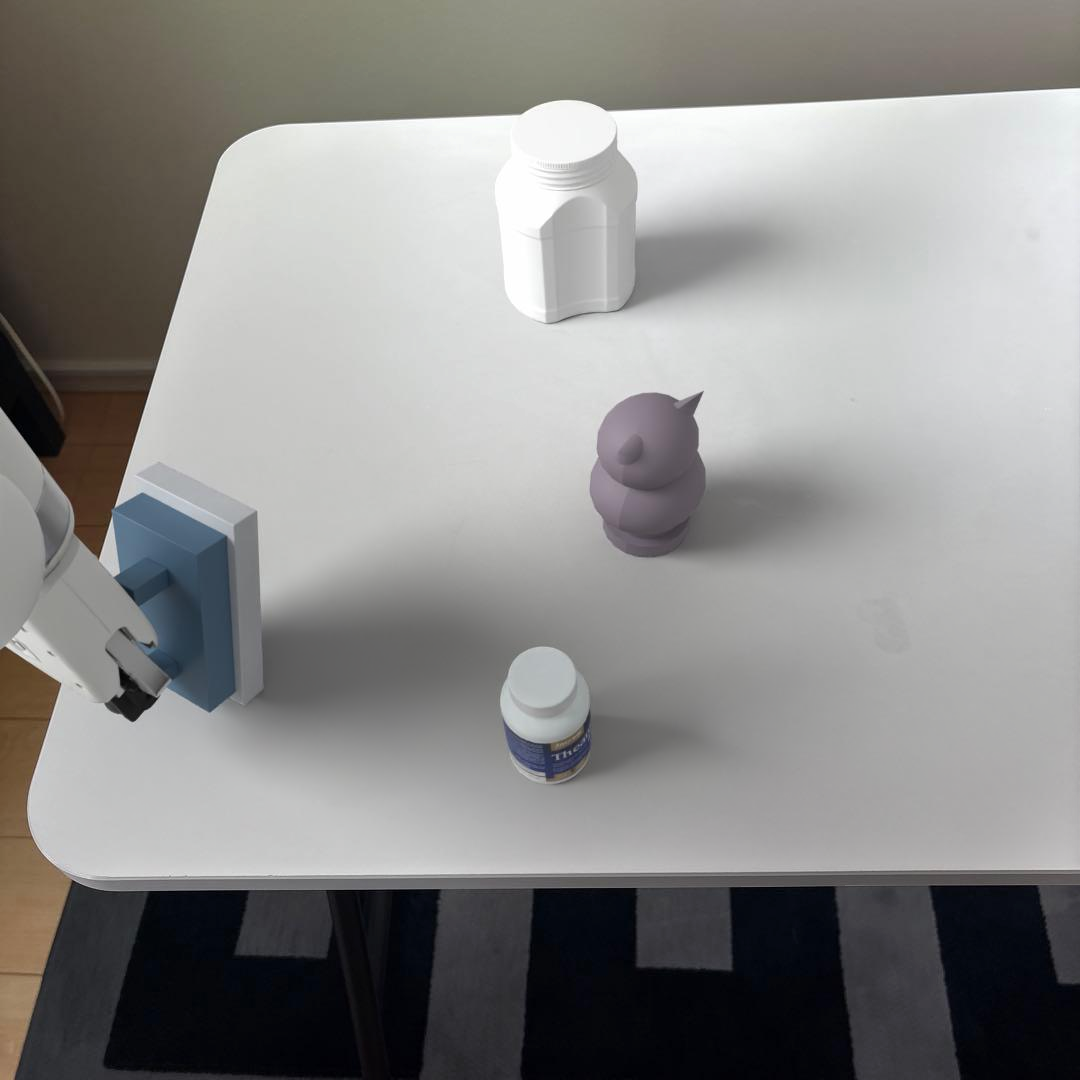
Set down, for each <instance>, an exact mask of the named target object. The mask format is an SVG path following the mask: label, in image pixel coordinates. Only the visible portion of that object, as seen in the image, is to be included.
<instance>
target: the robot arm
mask: <svg viewBox="0 0 1080 1080" xmlns="http://www.w3.org/2000/svg"><path fill="white" fill-rule="evenodd" d="M50 473H51V472H49V471H48V469H47V468H46V467H45V465H44V464H43V462H42V461H41V459H40V458H39V457H38V456H37V455H36V453H35V452H34V450H33V449H32V448H31V446H30V445H29V444H28V442H27V441H26V440H25V439H24V437H23V436H22V434H21V433H20V432H19V430H18V429H17V428H16V426H15V425H14V424H13V422H12V421H11V420H10V418H9V417H8V416H7V414H6V413H5V411H4V410H3V409H2V407H0V651H1V650H3V648H5V647H6V648H7V649H8V650H10V651H11V652H13V653H15V654H16V655H18V656H19V657H21V658H22V659H24V660H25V661H26V662H28V663H29V664H31V665H32V666H34V667H35V668H37V669H39V670H40V671H41V672H43V673H45V674H46V675H48V676H49V677H51V678H52V679H53V680H56V681H57V682H59V683H60V684H62V685H63V686H64V687H66V688H68V689H69V690H70V691H72V692H74V693H76V694H77V695H78V696H81V697H82V698H84V699H85V700H87V701H89V702H92V703H95V704H104V703H106V702H109V701H110V703H111V704H112V705H113V706H114V707H115V708H116V709H117V710H118V711H119V712H120V713H121V714H120V715H122V716H123V718H125V720H128V721H129V722H130V723H135V722H136V721H137V720H138V719H139V718H140V717H141V716H142V715H143V714H144V712H145V711H148V710H149V709H151V708H152V707H153V706H154V705H155V704H156V702H157V701H158V700H159V698H160V696H161V694H162V693H163V692H164V691H165V690H166V689H167V686H168V685H169V684H170V683H171V681H172V679H171V678H170V677H169V676H168V675H167V674H166V673H165V672H164V671H163V670H162V669H160V668H159V667H158V666H157V665H156V664H155V663H154V662H153V661H152V660H151V659H150V658H149V657H148V655H147V654H146V653H145V652H144V651H143V649H142V648H141V647H140V646H139V645H138V643H137V642H136V641H138V642H139V643H141V644H143V645H144V646H146V647H147V648H149V649H151V647H155V648H156V647H157V645H158V639H157V635H156V632H155V630H154V628H153V627H152V625H151V623H150V622H149V620H148V619H147V618H146V616H145V615H144V614H143V612H142V611H141V610H140V608H139V607H138V606H137V605H136V603H135V602H134V601H133V600H132V598H131V597H130V596H129V595H128V594H127V592H126V591H125V590H124V589H123V588H122V587H121V585H120V584H119V583H118V582H117V581H116V580H115V578H114V576H113V575H112V574H111V572H110V571H109V570H108V569H107V568H106V567H105V566H104V565H103V563H102V562H101V561H100V560H99V557H98V556H97V555H96V554H94V553H92V551H91V550H90V549H89V548H88V547H87V546H86V544H84V543H83V541H81V539H79V537H78V536H77V535H76V534H75V533H74V531H75V530H74V529H75V514H74V509H73V505H72V503H71V501H70V499H69V498H68V496H67V495H66V494H65V493H64V492H63V490H62V488H61V487H60V485H59V484H58V483H57V482H56V480H55V479H54V477H53V476H52V475H51V474H50ZM135 640H136V641H135Z"/></svg>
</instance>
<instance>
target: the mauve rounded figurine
mask: <svg viewBox="0 0 1080 1080" xmlns="http://www.w3.org/2000/svg"><path fill="white" fill-rule="evenodd" d="M704 392H705V391H704V390H702V391H700V392H697V393H695V394H693V395H690V396H688V397H685V398H683V399H680V400H679V399H677V398H675V397H673V396H671V395H670V394H666V393H661V392H642V393H639V394H638V393H637V394H634V395H630V396H628V397H626V398H625V399H623V400H621V401H620V402H618V403H617V404H616V405H614V406H613V408H611V409H610V411H608V412H607V414H606V415H605V416H604V418H603V420H602V421H601V425H600V426H599V429H598V431H597V436H596V437H597V439H596V453H597V456H598V457H597V459H596V461H595V463H594V465H593V467H592V469H591V471H590V478H589V488H588V489H589V490H588V491H589V495H590V498H591V500H592V504H593V506H594V509H595V511H596V512H597V513H598V514H599V515H600V517H601V518H602V527H603V530H604V533H605V535H606V538H607V539H608V540H609V541H610V542H611V544H612V545H613V546H614V547H615V548H617V549H618V550H620V551H621V552H623V553H625V554H628V555H631V556H634V557H639V558H654V557H658V556H662V555H667V554H668V553H669V552H672V551H673V550H675V549H676V548H678V547H679V546H680V544H682V542H683V541H684V540H685V539H686V537H687V534H688V532H689V528H690V523H691V515H692V514H693V513H694V511H696V510H697V508H698V507H699V505H700V503H701V500H702V498H703V496H704V493H705V490H706V487H707V486H706V485H707V482H706V481H707V480H706V475H707V474H706V473H707V472H706V466H705V464H704V462H703V459H702V457H701V455H700V452H699V451H698V450H699V447H700V430H699V426H698V423H697V420H696V418H695V416H694V415H695V413H696V411H697V408H698V406H699V404H700V401H701V399H702V397H703V394H704Z"/></svg>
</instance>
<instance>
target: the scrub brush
mask: <svg viewBox="0 0 1080 1080" xmlns="http://www.w3.org/2000/svg"><path fill="white" fill-rule="evenodd" d="M133 477H134V485H135V486H134V487H135V493H136V495H135V496H133V497H131V498H129V499H128V500H126V501H124V502H122V503H120V504H118V505H116V506H115V507H114V508H111V517H112V525H113V531H114V538H115V547H116V554H117V562H118V569H119V573H118V574H116V575H114V576H113V577H114V578H115V580H116V581H117V582H118V583H119V584H120V585H121V587H122V588H123V589H124V590H125V591H126V592H127V594H128V595H129V596H130V597H131V598H132V600H133V601H134V602H135V603H136V605H137V606H138V607H139V608H140V610H141V611H142V612H143V614H144V615H145V616H146V618H147V619H148V620H149V622H150V623H151V625H152V627H153V628H154V630H155V632H156V635H157V639H158V645H157V647H156V648H155V647H151V649H149V648H147V647H146V646H144V645H143V644H141V643H139V642H138V641H136V640H135V641H136V642H137V643H138V645H139V646H140V647H141V648H142V649H143V651H144V652H145V653H146V654H147V655H148V657H149V658H150V659H151V660H152V661H153V662H154V663H155V664H156V665H157V666H158V667H159V668H160V669H162V670H163V671H164V672H165V673H166V674H167V675H168V676H169V677H170V678H171V679H172V681H171V683H170V684H169V685H168V686H167V687H166V689H168V690H170V691H172V692H173V693H175V694H177V695H179V696H180V697H182V698H184V699H185V700H187V701H189V702H190V703H192V704H193V705H195V706H197V707H199V708H200V709H202V710H204V711H205V712H206V713H212V712H213V711H214V710H215V709H216V708H218V707H219V706H220V705H221V704H223V703H224V702H225V701H226V700H228V699H231V700H233V701H234V702H236V703H237V704H239V705H241V706H243V707H244V706H245V705H247V704H248V703H249V702H250V701H251V700H253V699H254V698H255V697H256V696H257V695H259V694H260V693H261V692H263V691H264V687H265V686H264V685H265V684H264V662H263V661H264V660H263V635H262V633H263V631H262V629H263V628H262V607H261V605H262V603H261V575H260V549H259V526H258V525H259V522H258V521H259V520H258V510H257V509H254V508H253V507H250V506H249V505H246V504H244V503H243V502H241V501H239V500H237V499H235V498H233V497H232V496H228V495H227V494H224V493H223V492H221V491H218V490H217V489H215V488H212V487H211V486H208V485H206V484H205V483H202V482H201V481H198V480H196V479H195V478H192V477H190V476H188V475H187V474H184V473H183V472H181V471H178V470H176V469H174V468H173V467H171V466H169V465H166V464H165V463H162V462H161V461H157V462H155V463H153V464H152V465H150V466H148V467H146V468H144V469H141V471H139V472H137V473H135V474H134V475H133ZM103 704H104V706H105V708H106V709H107V710H108V711H109V712H111V713H113V714H116V715H122V714H121V713H120V712H119V711H118V710H117V709H116V708H115V707H114V706H113V705H112V704H111V703H110V701H109V702H106V703H103Z"/></svg>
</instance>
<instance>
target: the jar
mask: <svg viewBox="0 0 1080 1080" xmlns="http://www.w3.org/2000/svg"><path fill="white" fill-rule="evenodd" d="M510 147H511V156H510V157H509V159H508V160H507V161H506V163H505V164H504V166H503V167H502V168H501V170H500V171H499V173H498V175H497V176H496V177H497V178H496V180H495V185H494V195H495V204H496V208H497V211H498V221H499V230H500V239H501V240H500V241H501V250H502V260H503V278H504V279H503V280H504V288H505V292H506V295H507V297H508V299H509V301H510V302H511V304H512V305H513V306H514V307H515V308H516V309H517V310H518V311H519V312H520V313H521V314H522V315H525V316H526V317H528V318H530V319H531V320H534V321H537V322H539V323H542V324H552V323H556V322H557V323H558V322H560V321H562V320H565V319H567V318H570V317H574V316H577V315H582V314H588V313H589V314H591V313H610V312H614V311H615V312H616V311H619V310H620V309H621V308H622V307H623V306H624V305H625V304H627V302H628V300H629V299H630V298H631V296H632V294H633V292H634V290H635V285H636V272H637V271H636V270H637V269H636V262H635V261H636V219H637V217H636V216H637V215H636V214H637V200H638V190H639V189H638V187H639V185H638V183H639V182H638V177H637V176H638V175H637V173H636V171H635V169H634V168H633V166H632V164H631V163H630V162H629V161H628V160H627V159H626V157H625V156H624V155H623V154H622V153H621V151H620V150H619V149H618V126H617V123H616V120H615V119H614V117H613V116H612V115H611V114H610V113H609V112H608V111H607V110H606V109H604V108H603V107H601V106H598V105H596V104H593V103H591V102H586V101H582V100H574V99H561V100H552V101H548V102H544V103H541V104H538V105H535V106H533V107H531V108H529V109H527V110H526V111H524V112H523V113H522V114H520V116H519V117H518V118H517V119H516V120H515V121H514V123H513V125H512V127H511V130H510Z"/></svg>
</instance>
